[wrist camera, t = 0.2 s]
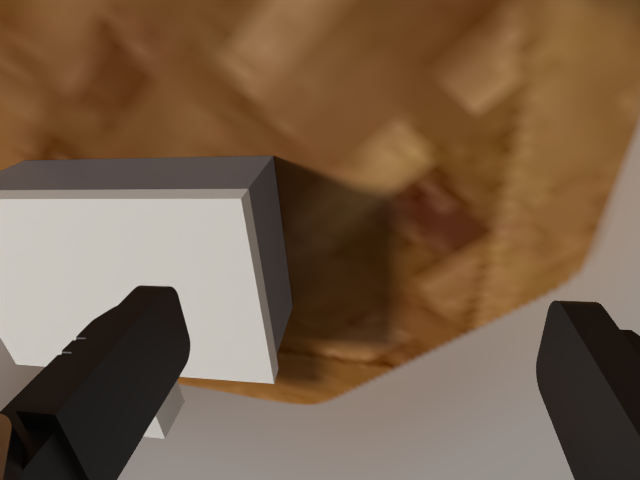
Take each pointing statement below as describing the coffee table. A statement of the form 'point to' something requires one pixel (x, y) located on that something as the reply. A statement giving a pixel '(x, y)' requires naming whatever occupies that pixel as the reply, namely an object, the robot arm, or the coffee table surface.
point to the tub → (182, 175)
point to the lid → (136, 275)
